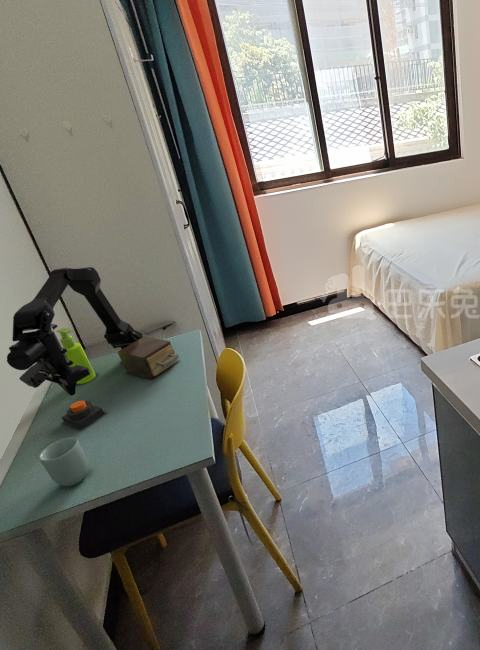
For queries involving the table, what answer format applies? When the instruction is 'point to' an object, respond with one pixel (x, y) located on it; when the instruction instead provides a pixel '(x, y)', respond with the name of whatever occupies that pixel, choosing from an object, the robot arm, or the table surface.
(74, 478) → the cup
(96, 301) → the robot arm
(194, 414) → the table surface
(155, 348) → the cabinet
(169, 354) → the drawer
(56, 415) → the table surface
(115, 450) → the table surface
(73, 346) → the soap dispenser
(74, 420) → the control block
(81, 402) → the button
